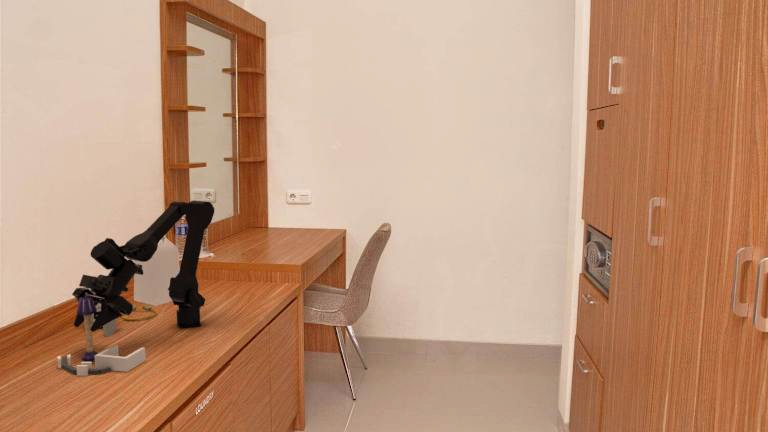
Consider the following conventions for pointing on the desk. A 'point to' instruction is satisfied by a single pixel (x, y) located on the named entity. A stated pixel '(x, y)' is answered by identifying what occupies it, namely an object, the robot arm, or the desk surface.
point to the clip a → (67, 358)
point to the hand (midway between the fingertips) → (83, 328)
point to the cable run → (90, 371)
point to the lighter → (109, 328)
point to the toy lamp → (87, 325)
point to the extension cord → (141, 311)
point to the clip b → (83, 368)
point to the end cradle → (119, 359)
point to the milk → (157, 275)
